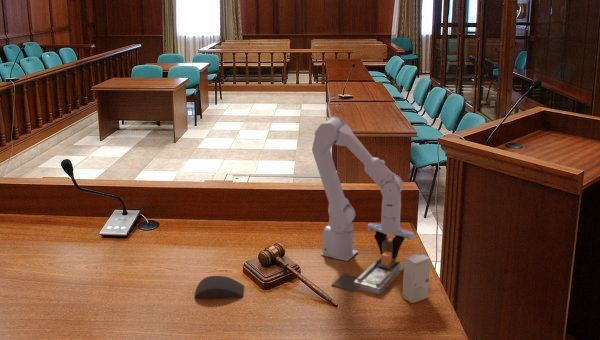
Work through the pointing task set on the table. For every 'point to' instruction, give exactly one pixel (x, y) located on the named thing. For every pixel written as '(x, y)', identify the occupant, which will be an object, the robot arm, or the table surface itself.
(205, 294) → the computer mouse
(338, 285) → the rubber pad
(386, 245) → the brown rectangular block
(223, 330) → the table surface
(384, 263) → the lever
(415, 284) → the skincare box
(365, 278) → the breaker panel
